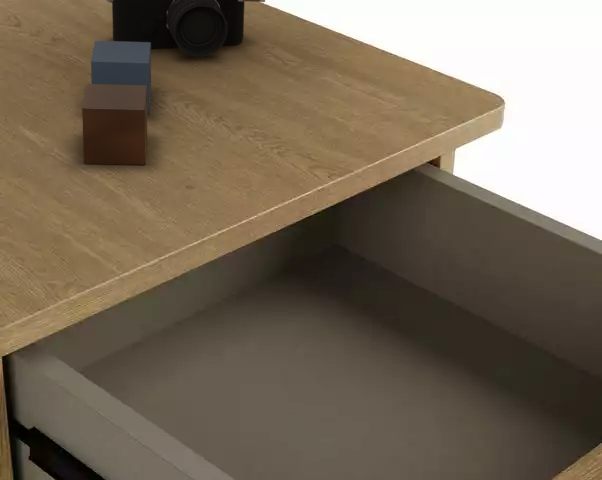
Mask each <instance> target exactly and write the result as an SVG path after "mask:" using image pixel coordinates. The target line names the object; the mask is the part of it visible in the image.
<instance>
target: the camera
mask: <svg viewBox="0 0 602 480" xmlns="http://www.w3.org/2000/svg"><path fill="white" fill-rule="evenodd" d="M106 2H107V3H109V4H111V10H112V11H111V13H112V14H111V15H112V41H123V42H151V49H168V48H169V49H171V48H179V49H180V51H182V52H183V53H185V55H186V54H187V56H192V57H196V58H205V57H208V56H210V55H213V54H215V53H217V52H218V51H219V50H220V49H221V48H222V46H235V45H239V44H241V43H242V42H243V39H244V32H245V31H244V27H245V26H244V25H245V1H243V2H241V1H238V0H106Z"/></svg>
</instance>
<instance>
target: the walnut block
mask: <svg viewBox="0 0 602 480" xmlns="http://www.w3.org/2000/svg"><path fill="white" fill-rule="evenodd" d="M81 118H82V144H83V145H82V146H83V148H82V149H83V164H85V165H124V166H125V165H127V166H129V165H130V166H145V165H146V162H147V148H148V116H147V86H146V85H110V84H92V83H87V84H86V85H85V89H84V96H83V101H82V107H81Z"/></svg>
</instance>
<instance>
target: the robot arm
mask: <svg viewBox="0 0 602 480" xmlns="http://www.w3.org/2000/svg"><path fill="white" fill-rule="evenodd" d="M238 1H241V2H243V1H244V2H250V3H265V2H266V0H238Z"/></svg>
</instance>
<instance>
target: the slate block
mask: <svg viewBox="0 0 602 480" xmlns="http://www.w3.org/2000/svg"><path fill="white" fill-rule="evenodd" d="M90 75H91V78H90V79H91V80H90V81H91V84H110V85H146V86H147V117H148V116H150V115H151V114H150V113H151V101H152V100H151V99H152V48H151V42H123V41H113V40H94V44H93V49H92V53H91V59H90Z"/></svg>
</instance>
